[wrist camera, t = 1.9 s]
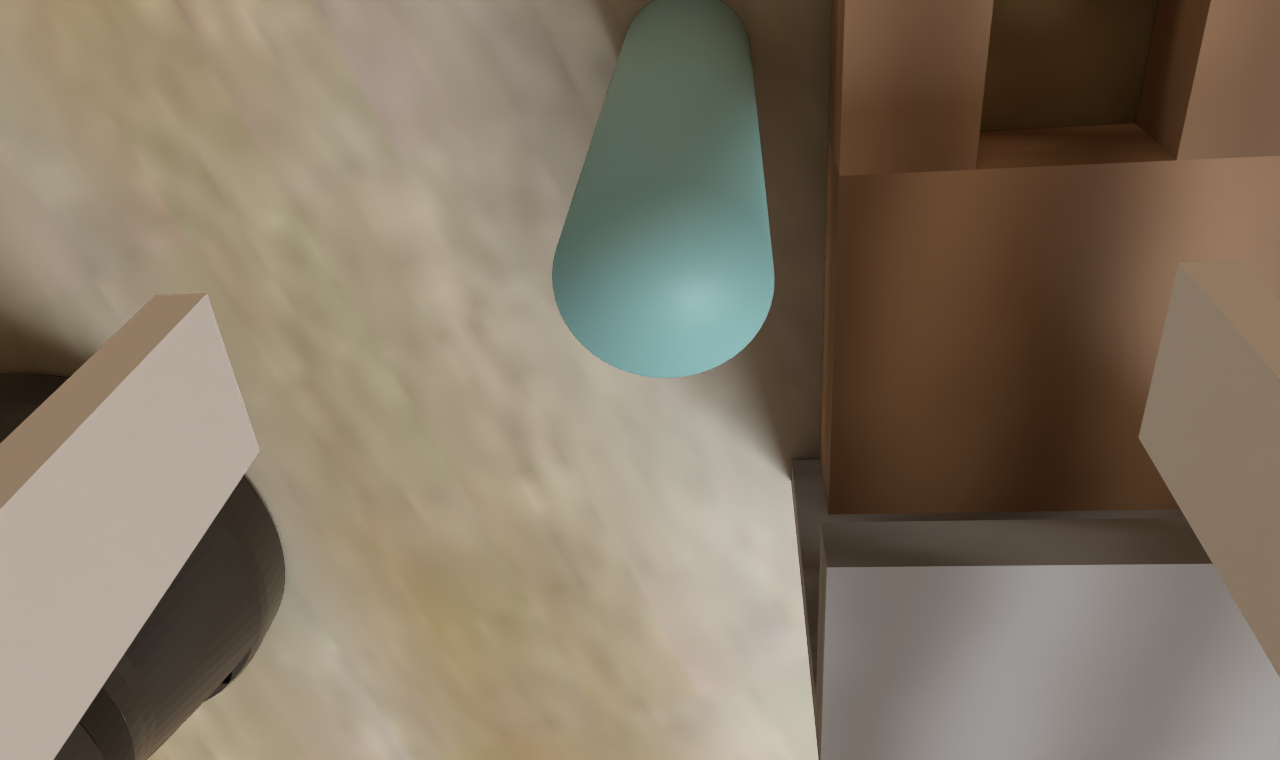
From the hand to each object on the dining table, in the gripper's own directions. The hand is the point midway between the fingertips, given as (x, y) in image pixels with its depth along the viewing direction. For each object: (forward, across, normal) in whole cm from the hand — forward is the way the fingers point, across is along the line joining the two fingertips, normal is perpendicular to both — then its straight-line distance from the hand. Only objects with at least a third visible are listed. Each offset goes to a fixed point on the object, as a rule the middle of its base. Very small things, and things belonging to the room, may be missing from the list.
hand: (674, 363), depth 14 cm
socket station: (+17, +10, -4) cm, 20 cm away
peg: (+17, 0, 0) cm, 17 cm away
